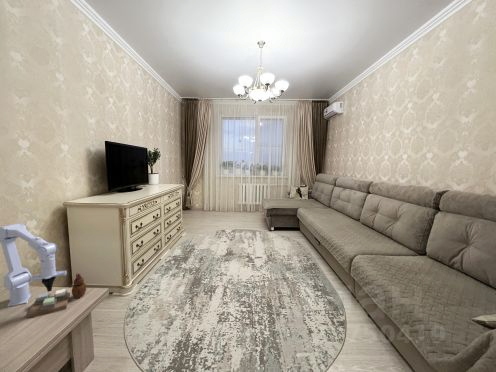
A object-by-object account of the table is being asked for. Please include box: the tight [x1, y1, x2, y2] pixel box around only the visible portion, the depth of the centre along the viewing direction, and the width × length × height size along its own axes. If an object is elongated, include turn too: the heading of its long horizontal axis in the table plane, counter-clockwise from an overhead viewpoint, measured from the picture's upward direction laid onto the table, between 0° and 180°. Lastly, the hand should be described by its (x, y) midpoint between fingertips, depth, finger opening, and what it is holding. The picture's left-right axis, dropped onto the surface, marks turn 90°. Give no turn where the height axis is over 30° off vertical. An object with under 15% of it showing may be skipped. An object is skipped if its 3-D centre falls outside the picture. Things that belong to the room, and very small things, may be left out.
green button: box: [43, 297, 55, 306], centre depth 118 cm, size 4×4×2 cm
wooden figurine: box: [71, 273, 87, 299], centre depth 130 cm, size 7×6×15 cm
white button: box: [54, 288, 67, 297], centre depth 126 cm, size 4×4×2 cm
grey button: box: [36, 291, 50, 301], centre depth 122 cm, size 4×4×2 cm
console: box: [27, 289, 71, 319], centre depth 121 cm, size 14×15×4 cm
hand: (49, 290), depth 120 cm, fingers closed
